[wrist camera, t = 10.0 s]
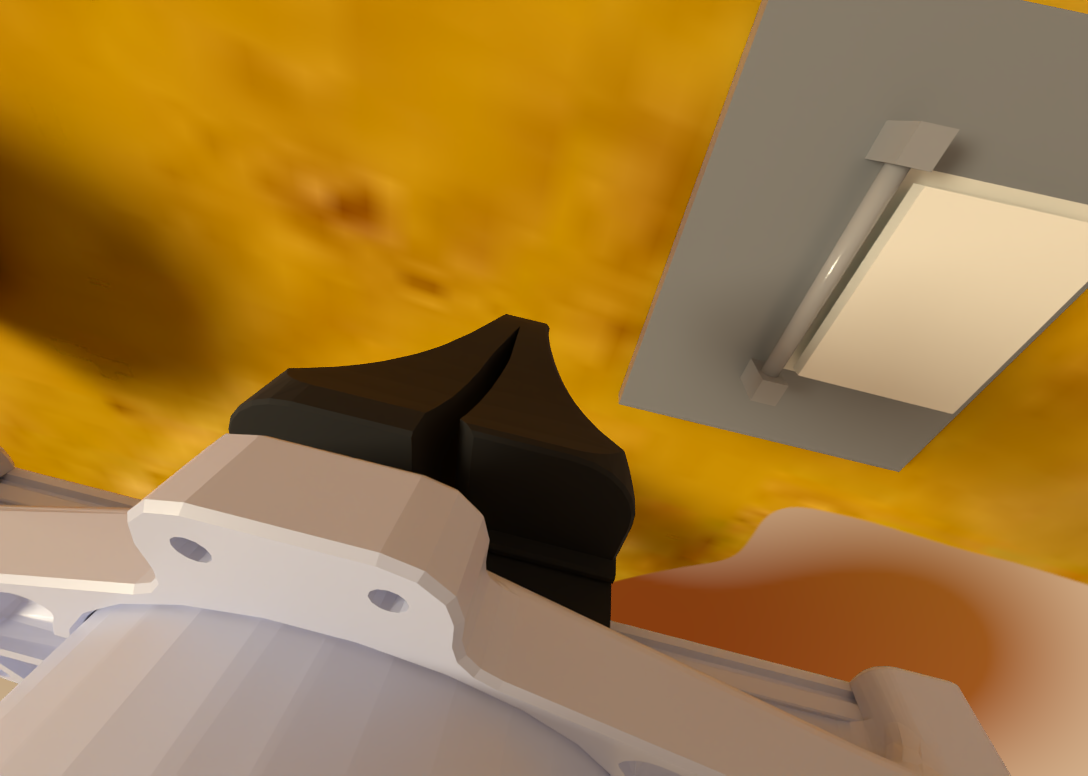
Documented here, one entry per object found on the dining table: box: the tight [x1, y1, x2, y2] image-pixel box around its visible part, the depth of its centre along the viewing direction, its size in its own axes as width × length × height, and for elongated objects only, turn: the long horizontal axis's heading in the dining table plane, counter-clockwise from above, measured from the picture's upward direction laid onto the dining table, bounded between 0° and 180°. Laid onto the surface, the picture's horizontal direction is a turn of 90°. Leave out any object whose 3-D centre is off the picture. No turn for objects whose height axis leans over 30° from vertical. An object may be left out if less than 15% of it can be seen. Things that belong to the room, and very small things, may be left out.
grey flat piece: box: [619, 0, 1088, 472], centre depth 17 cm, size 18×16×3 cm
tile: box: [793, 183, 1088, 414], centre depth 16 cm, size 8×7×1 cm
